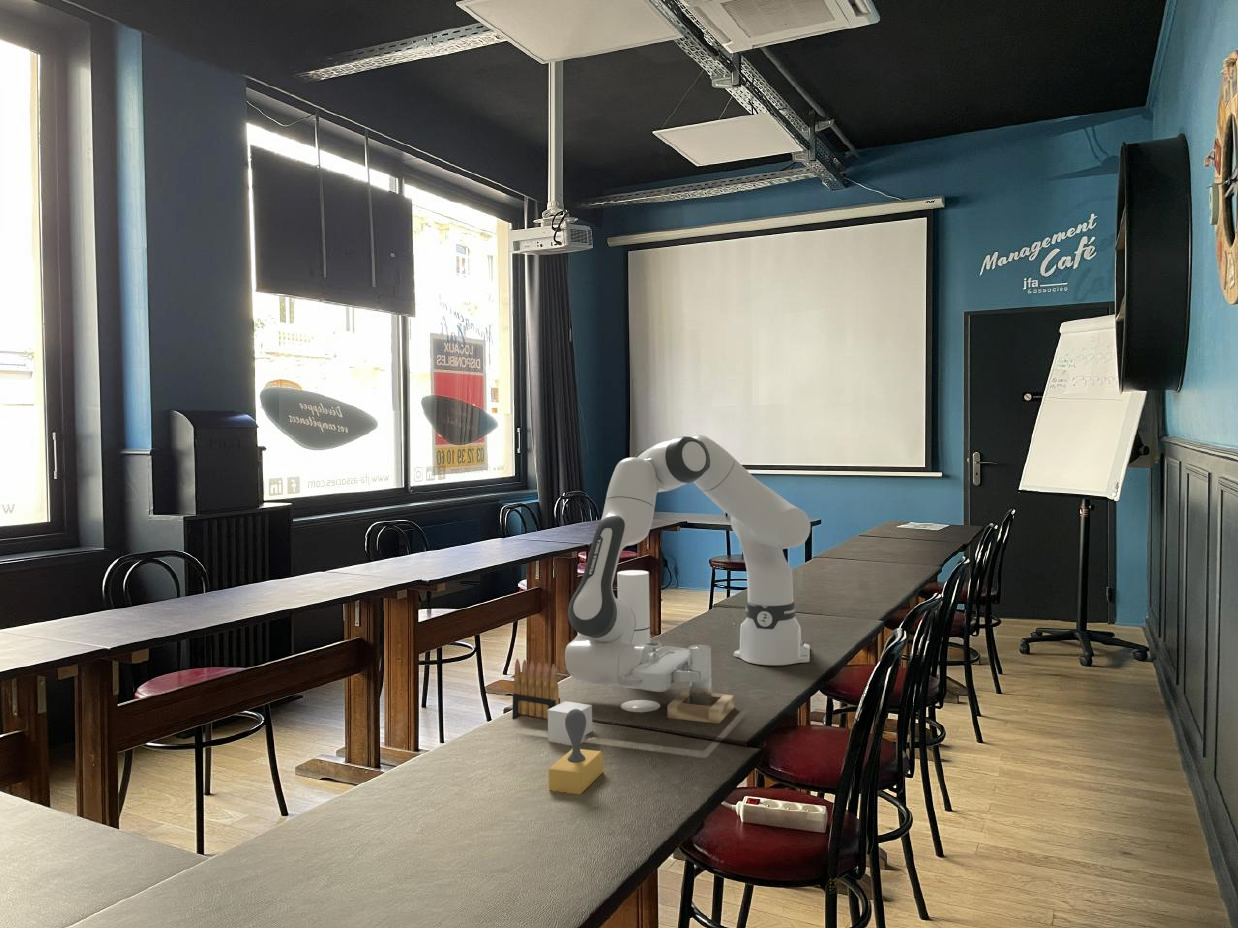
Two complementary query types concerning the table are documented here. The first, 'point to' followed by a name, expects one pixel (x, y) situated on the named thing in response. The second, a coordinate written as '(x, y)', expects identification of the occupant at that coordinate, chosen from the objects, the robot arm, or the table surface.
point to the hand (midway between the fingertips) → (704, 672)
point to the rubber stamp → (575, 760)
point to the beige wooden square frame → (701, 708)
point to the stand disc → (640, 706)
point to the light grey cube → (557, 721)
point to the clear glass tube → (702, 663)
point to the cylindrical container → (636, 601)
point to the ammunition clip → (534, 691)
